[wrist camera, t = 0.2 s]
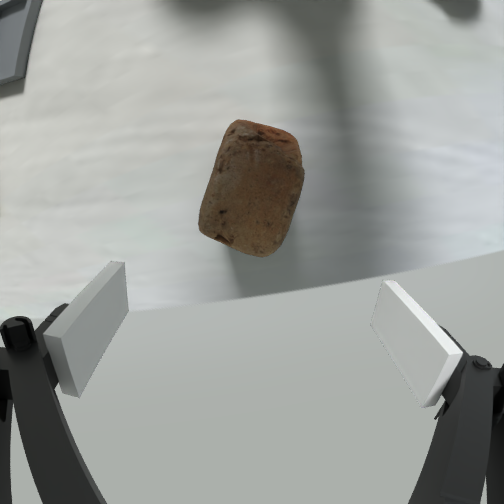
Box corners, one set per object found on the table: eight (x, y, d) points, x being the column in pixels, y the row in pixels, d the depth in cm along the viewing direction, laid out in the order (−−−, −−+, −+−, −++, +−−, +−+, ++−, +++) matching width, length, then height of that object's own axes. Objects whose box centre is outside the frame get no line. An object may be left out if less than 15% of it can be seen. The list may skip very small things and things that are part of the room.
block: (261, 214, 42) (277, 273, 23) (208, 197, 41) (181, 242, 22) (289, 140, 39) (332, 136, 20) (235, 120, 38) (230, 97, 19)
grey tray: (1, 8, 26) (-7, 4, 23) (45, -10, 27) (37, -16, 24) (-17, 90, 32) (-27, 89, 29) (24, 77, 33) (14, 75, 30)
